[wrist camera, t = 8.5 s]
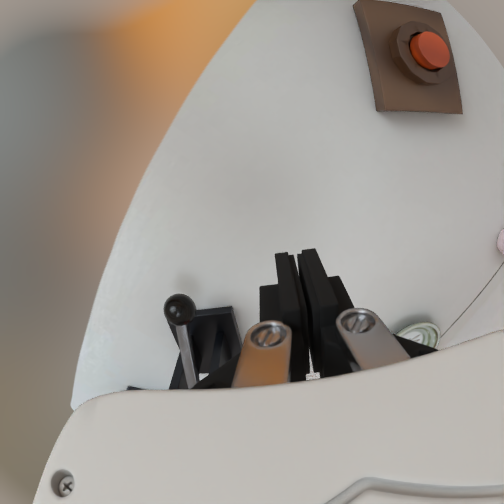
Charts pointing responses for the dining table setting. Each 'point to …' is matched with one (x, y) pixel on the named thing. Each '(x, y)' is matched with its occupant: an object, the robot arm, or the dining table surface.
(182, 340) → the lever
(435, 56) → the button
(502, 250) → the smoothie
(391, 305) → the dining table surface
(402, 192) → the dining table surface
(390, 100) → the button block
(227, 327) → the bracket
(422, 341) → the saucer
